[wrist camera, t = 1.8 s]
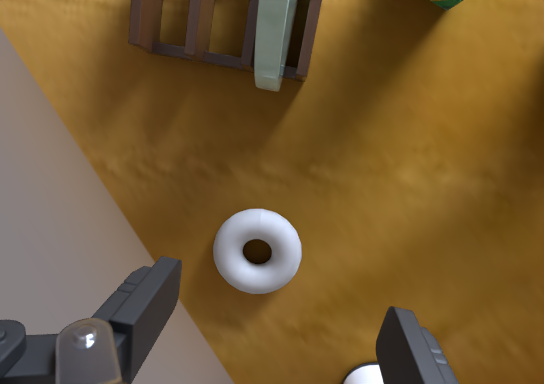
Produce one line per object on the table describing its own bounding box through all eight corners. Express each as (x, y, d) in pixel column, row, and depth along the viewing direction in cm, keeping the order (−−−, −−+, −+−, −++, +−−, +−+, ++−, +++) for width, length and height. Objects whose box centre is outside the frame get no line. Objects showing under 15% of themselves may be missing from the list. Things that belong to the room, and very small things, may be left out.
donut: (227, 290, 39) (308, 278, 38) (221, 306, 36) (309, 293, 35) (208, 213, 37) (293, 197, 36) (199, 222, 34) (292, 205, 33)
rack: (325, -25, 31) (331, -48, 27) (304, 82, 34) (306, 76, 29) (158, -55, 32) (137, -83, 27) (148, 53, 34) (127, 43, 29)
